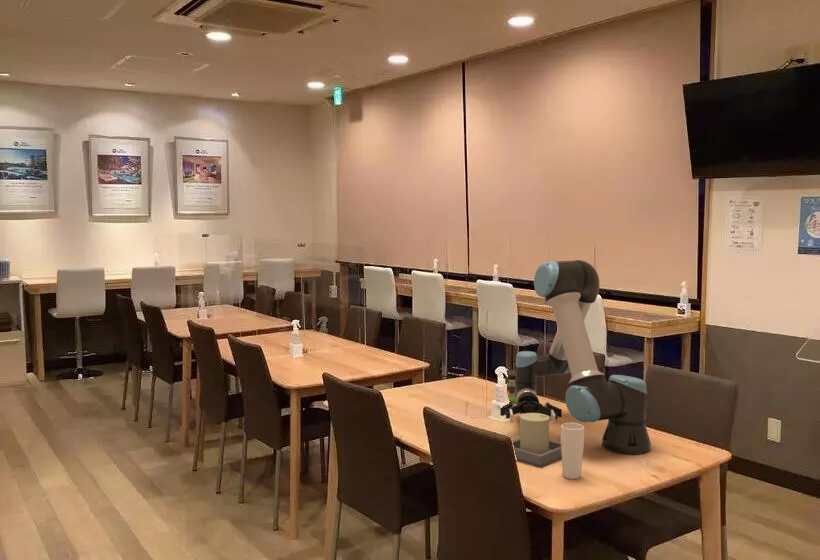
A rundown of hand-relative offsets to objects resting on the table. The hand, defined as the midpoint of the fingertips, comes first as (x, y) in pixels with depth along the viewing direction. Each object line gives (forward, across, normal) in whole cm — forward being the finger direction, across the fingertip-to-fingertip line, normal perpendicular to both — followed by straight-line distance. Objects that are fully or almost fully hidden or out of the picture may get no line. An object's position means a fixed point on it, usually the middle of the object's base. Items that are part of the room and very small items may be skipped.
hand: (532, 419), depth 238 cm
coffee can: (-48, +4, -10) cm, 49 cm away
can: (+7, 0, -9) cm, 11 cm away
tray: (+8, 0, -10) cm, 12 cm away
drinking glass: (+25, -9, -10) cm, 28 cm away
